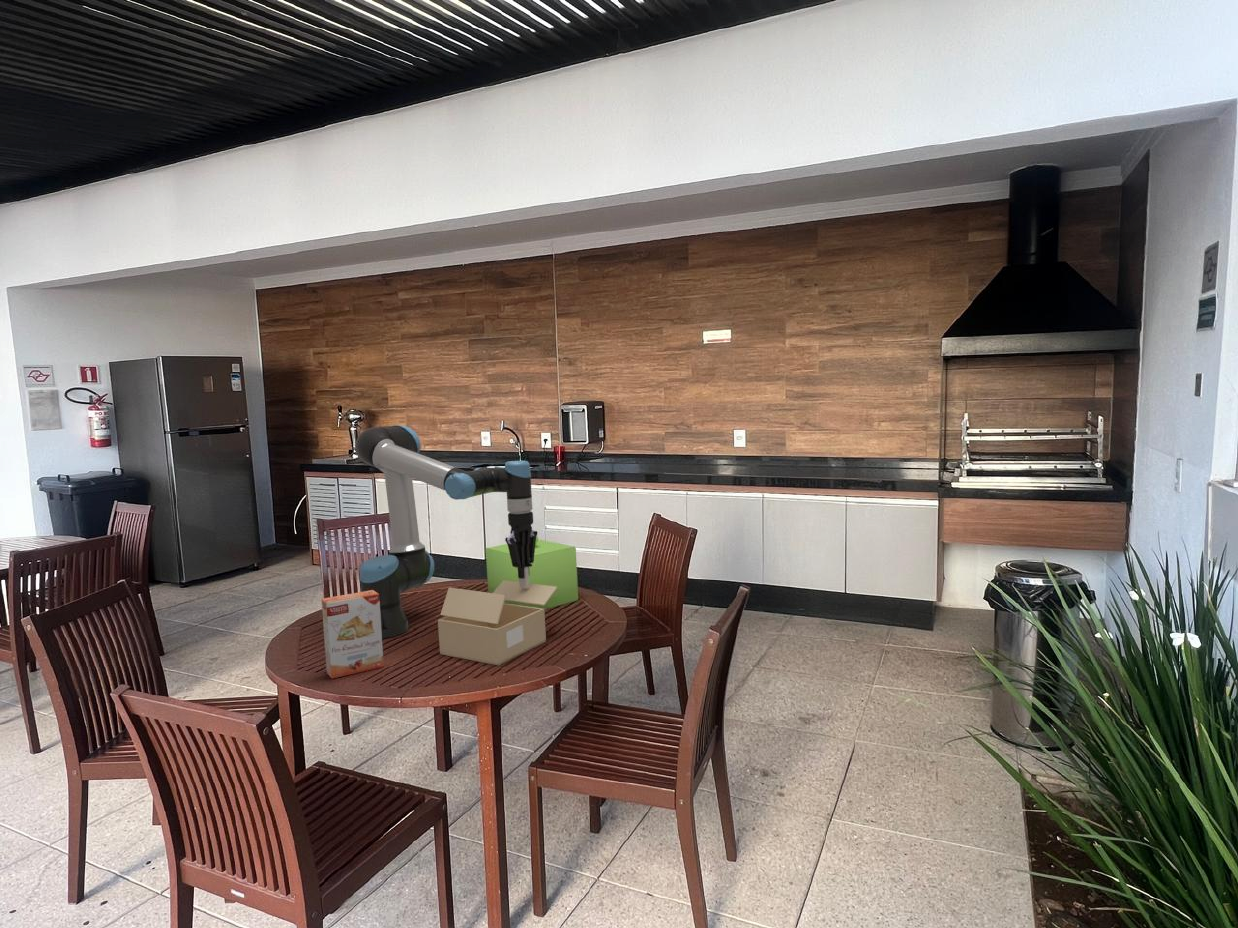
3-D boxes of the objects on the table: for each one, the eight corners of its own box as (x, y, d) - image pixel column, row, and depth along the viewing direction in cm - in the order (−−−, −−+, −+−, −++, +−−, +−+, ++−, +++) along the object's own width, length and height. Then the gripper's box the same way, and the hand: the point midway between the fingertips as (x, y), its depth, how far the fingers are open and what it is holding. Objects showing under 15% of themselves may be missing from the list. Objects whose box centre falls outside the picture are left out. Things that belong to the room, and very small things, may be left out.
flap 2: (489, 597, 228) (503, 580, 233) (489, 598, 228) (504, 581, 234) (543, 604, 217) (557, 586, 222) (544, 605, 217) (557, 587, 223)
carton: (440, 653, 211) (437, 619, 210) (489, 632, 228) (487, 600, 228) (499, 665, 199) (497, 629, 198) (546, 642, 217) (544, 608, 216)
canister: (488, 600, 265) (484, 537, 263) (537, 588, 279) (534, 528, 277) (528, 614, 247) (524, 546, 245) (578, 600, 261) (575, 535, 259)
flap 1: (440, 614, 210) (448, 587, 213) (441, 615, 210) (449, 587, 213) (496, 623, 199) (505, 594, 202) (498, 624, 199) (506, 595, 202)
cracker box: (331, 680, 194) (325, 602, 192) (326, 673, 199) (320, 597, 197) (385, 667, 202) (379, 592, 200) (378, 661, 207) (373, 588, 205)
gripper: (516, 515, 216) (520, 594, 218) (543, 509, 227) (547, 584, 229) (496, 514, 220) (501, 591, 222) (524, 508, 231) (528, 581, 233)
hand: (524, 587), depth 226 cm, fingers closed
